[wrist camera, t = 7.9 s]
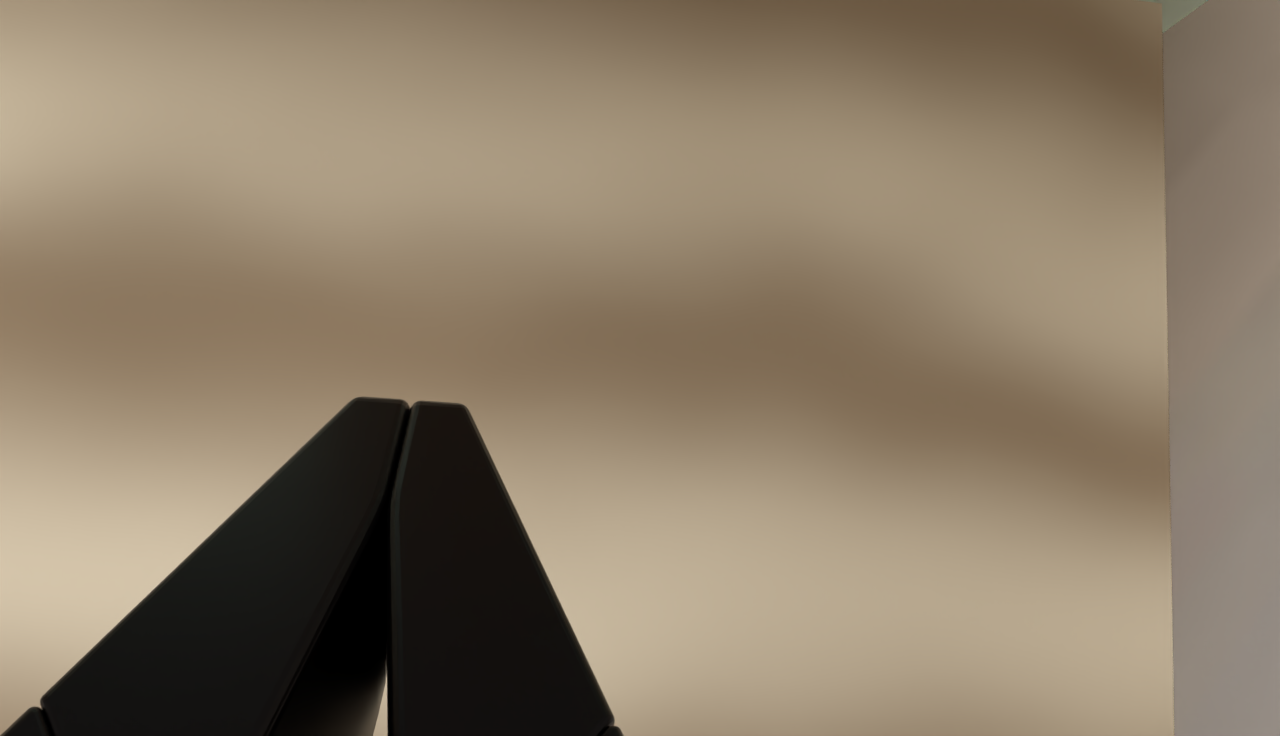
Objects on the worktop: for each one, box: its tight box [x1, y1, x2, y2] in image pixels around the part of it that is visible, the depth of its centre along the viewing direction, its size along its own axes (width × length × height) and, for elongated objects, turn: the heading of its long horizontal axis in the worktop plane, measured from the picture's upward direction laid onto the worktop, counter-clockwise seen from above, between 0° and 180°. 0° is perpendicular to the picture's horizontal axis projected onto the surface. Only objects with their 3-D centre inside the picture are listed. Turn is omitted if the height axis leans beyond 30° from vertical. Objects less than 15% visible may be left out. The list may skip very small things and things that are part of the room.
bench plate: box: [0, 0, 1174, 736], centre depth 17 cm, size 14×22×3 cm, turn 87°
